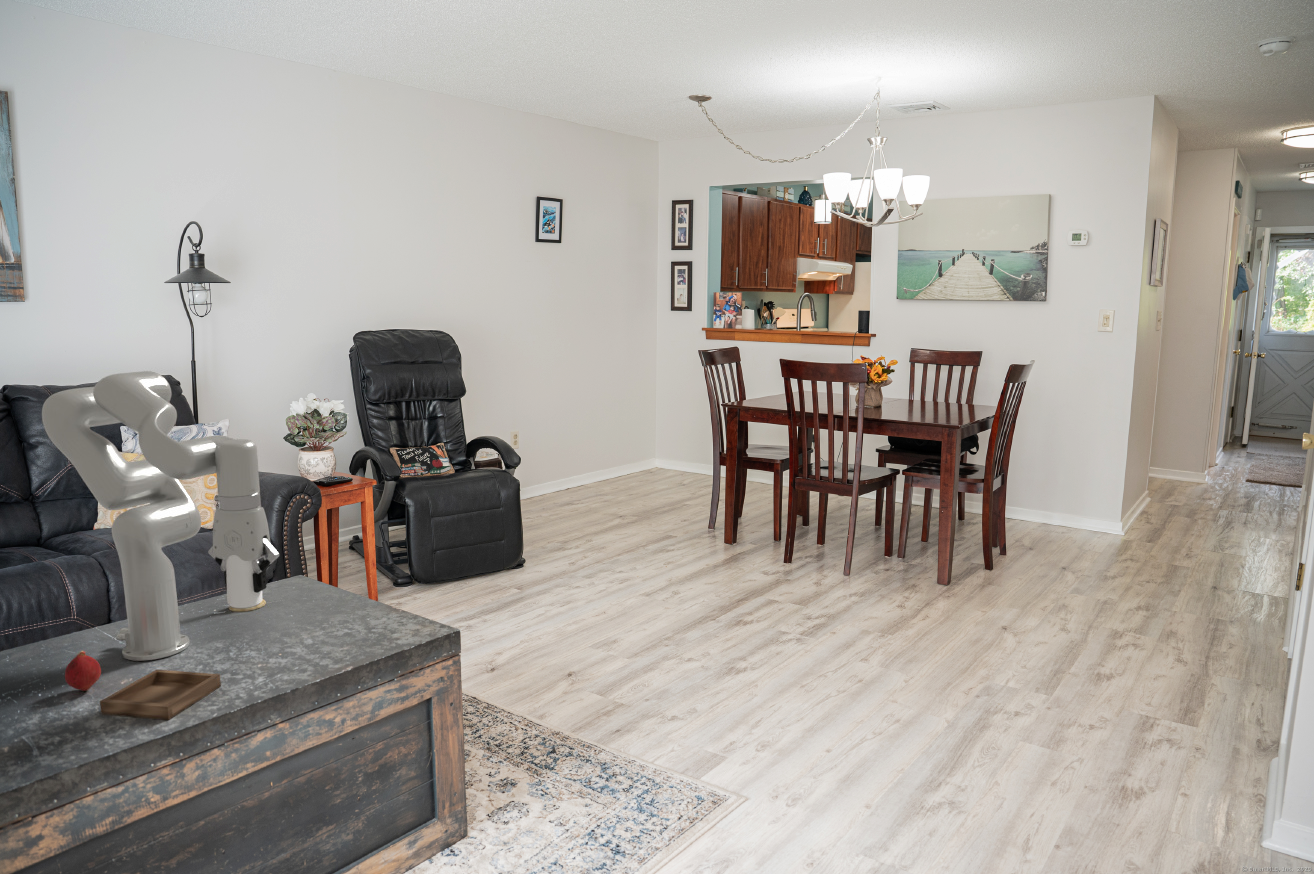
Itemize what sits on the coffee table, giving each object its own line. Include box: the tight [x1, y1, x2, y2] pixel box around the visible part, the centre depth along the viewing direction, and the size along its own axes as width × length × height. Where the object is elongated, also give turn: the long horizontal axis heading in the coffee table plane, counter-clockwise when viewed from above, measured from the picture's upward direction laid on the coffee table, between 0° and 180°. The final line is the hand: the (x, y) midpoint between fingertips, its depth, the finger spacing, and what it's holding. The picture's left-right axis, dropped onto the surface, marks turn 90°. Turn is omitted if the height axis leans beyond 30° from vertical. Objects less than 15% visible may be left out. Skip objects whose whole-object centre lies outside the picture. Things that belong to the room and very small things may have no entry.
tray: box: [99, 669, 222, 721], centre depth 165 cm, size 14×14×2 cm
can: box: [226, 555, 263, 609], centre depth 177 cm, size 6×6×12 cm
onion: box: [64, 650, 102, 692], centre depth 169 cm, size 6×6×8 cm
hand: (246, 588), depth 177 cm, fingers closed on can, 5 cm apart
